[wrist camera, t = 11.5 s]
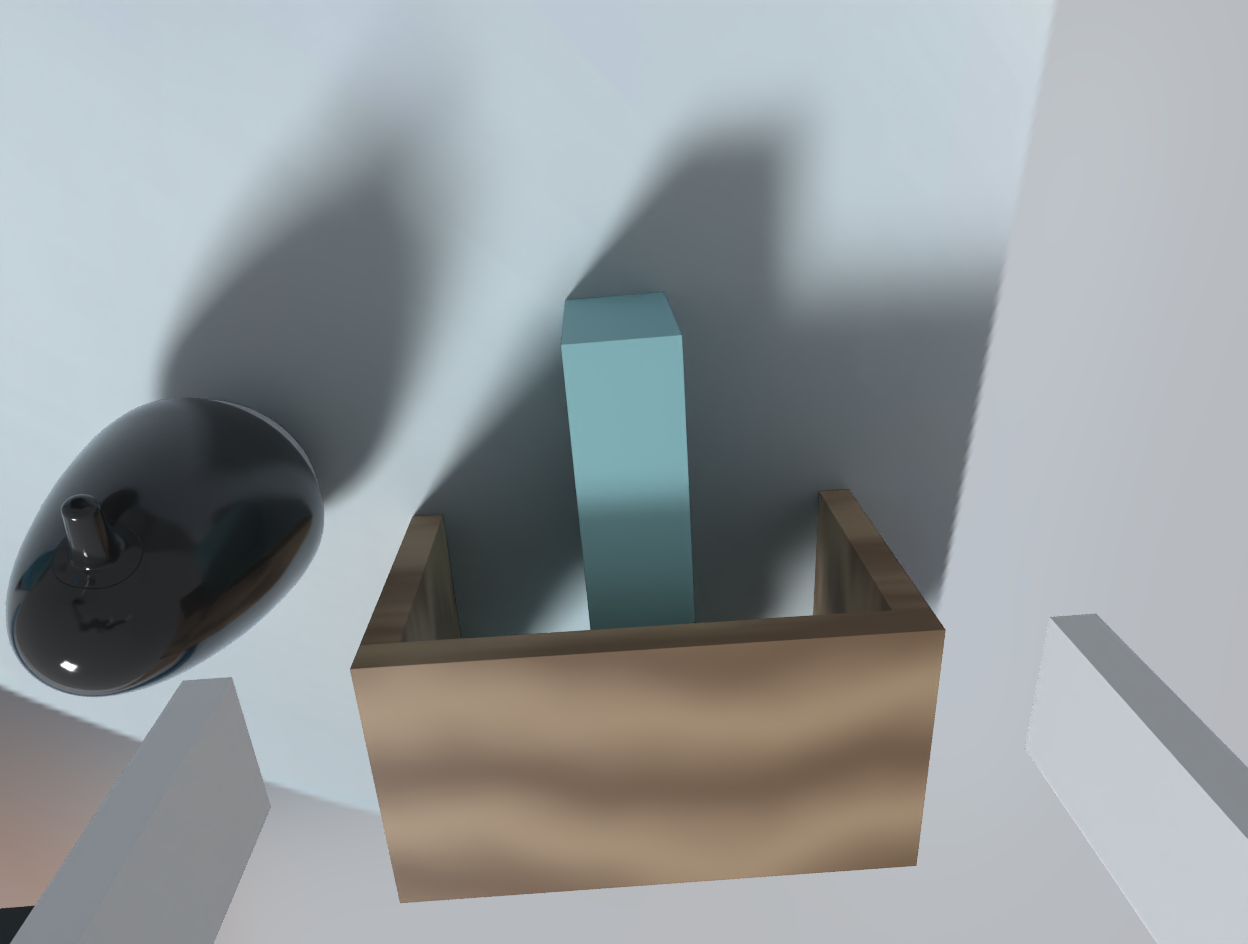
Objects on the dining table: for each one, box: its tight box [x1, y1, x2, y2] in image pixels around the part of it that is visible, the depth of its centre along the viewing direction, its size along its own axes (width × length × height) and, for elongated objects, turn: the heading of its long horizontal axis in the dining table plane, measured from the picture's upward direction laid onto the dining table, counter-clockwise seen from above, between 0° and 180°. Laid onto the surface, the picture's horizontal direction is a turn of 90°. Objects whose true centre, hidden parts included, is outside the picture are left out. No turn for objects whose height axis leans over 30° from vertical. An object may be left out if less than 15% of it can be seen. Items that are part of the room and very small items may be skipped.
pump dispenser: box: [6, 398, 324, 697], centre depth 34 cm, size 10×10×15 cm
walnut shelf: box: [350, 489, 945, 903], centre depth 39 cm, size 12×22×12 cm, turn 93°
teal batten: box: [561, 292, 695, 630], centre depth 40 cm, size 23×4×8 cm, turn 4°
